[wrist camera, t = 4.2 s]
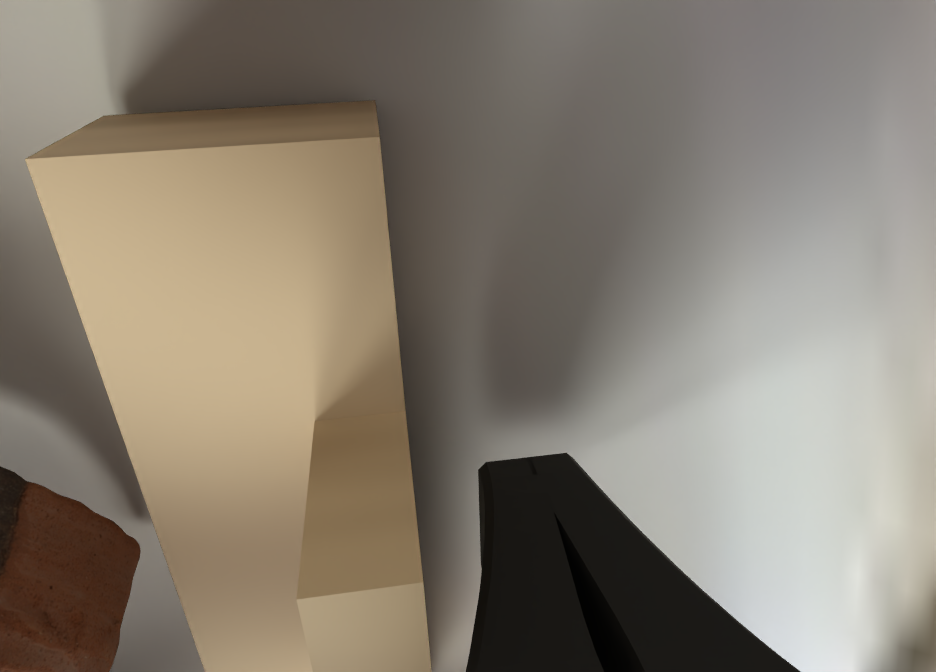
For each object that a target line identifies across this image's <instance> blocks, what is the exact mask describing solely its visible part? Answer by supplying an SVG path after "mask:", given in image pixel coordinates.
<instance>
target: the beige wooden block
mask: <svg viewBox="0 0 936 672" xmlns="http://www.w3.org/2000/svg"><path fill="white" fill-rule="evenodd" d="M25 161H26V163H27V166H28V169H29V172H30V175H31V178H32V180H33V183H34V186H35V189H36V192H37V195H38V198H39V200H40V203H41V206H42V209H43V212H44V215H45V218H46V220H47V223H48V226H49V229H50V232H51V235H52V237H53V240H54V243H55V246H56V249H57V252H58V255H59V257H60V260H61V263H62V266H63V269H64V272H65V274H66V277H67V280H68V283H69V286H70V289H71V292H72V294H73V297H74V300H75V303H76V306H77V309H78V311H79V314H80V317H81V320H82V323H83V326H84V329H85V331H86V334H87V337H88V340H89V343H90V346H91V348H92V351H93V354H94V357H95V360H96V363H97V366H98V368H99V371H100V374H101V377H102V380H103V383H104V386H105V388H106V391H107V394H108V397H109V400H110V403H111V405H112V408H113V411H114V414H115V417H116V420H117V423H118V425H119V428H120V431H121V434H122V437H123V440H124V442H125V445H126V448H127V451H128V454H129V457H130V460H131V462H132V465H133V468H134V471H135V474H136V477H137V479H138V482H139V485H140V488H141V491H142V494H143V497H144V499H145V502H146V505H147V508H148V511H149V514H150V516H151V519H152V522H153V525H154V528H155V531H156V534H157V536H158V539H159V542H160V545H161V548H162V551H163V554H164V556H165V559H166V562H167V565H168V568H169V571H170V573H171V576H172V579H173V582H174V585H175V588H176V591H177V593H178V596H179V599H180V602H181V605H182V608H183V610H184V613H185V616H186V619H187V622H188V625H189V628H190V630H191V633H192V636H193V639H194V642H195V645H196V647H197V650H198V653H199V656H200V659H201V662H202V665H203V667H204V670H205V672H432V671H431V660H430V649H429V638H428V627H427V616H426V605H425V595H424V584H423V574H422V564H421V555H420V545H419V536H418V526H417V517H416V507H415V497H414V488H413V478H412V469H411V459H410V450H409V440H408V430H407V421H406V411H405V401H404V390H403V379H402V369H401V358H400V347H399V337H398V326H397V316H396V305H395V294H394V284H393V273H392V262H391V252H390V241H389V230H388V220H387V209H386V198H385V188H384V177H383V166H382V156H381V145H380V135H379V127H378V119H377V111H376V102H375V100H371V101H354V102H336V103H319V104H301V105H283V106H266V107H248V108H231V109H213V110H196V111H178V112H161V113H143V114H125V115H108V116H103V117H101V118H99V119H97V120H95V121H93V122H92V123H90V124H88V125H86V126H84V127H83V128H81V129H79V130H77V131H75V132H73V133H72V134H70V135H68V136H66V137H64V138H63V139H61V140H59V141H57V142H55V143H53V144H52V145H50V146H48V147H46V148H44V149H43V150H41V151H39V152H37V153H35V154H33V155H32V156H30V157H28V158H26V159H25Z"/></svg>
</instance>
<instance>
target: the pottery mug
mask: <svg viewBox="0 0 936 672" xmlns="http://www.w3.org/2000/svg"><path fill="white" fill-rule="evenodd" d="M139 557H140V546H139V544H138V542H137V541H136V540H135V539H134V538H133V537H130V536H128V535H127V534H126V533H125V532H124V531H123V530H122V529H121V528H120V527H119V526H118V525H117V524H116V523H114V522H113V521H111V520H110V519H108V518H105V517H103V516H101V515H99V514H97V513H95V512H93V511H92V510H90V509H89V508H88V507H86V506H85V505H84V504H82V503H81V502H79V501H76V500H73V499H70V498H67V497H64V496H61V495H59V494H57V493H55V492H53V491H51V490H49V489H47V488H46V487H44V486H41V485H38V484H36V483H31V482H27V481H25V480H24V479H23V478H22V477H20V476H19V475H17V474H16V473H15V472H12V471H10V470H8V469H5V468H3V467H0V672H109V671H110V669H111V666H112V664H113V661H114V658H115V655H116V652H117V648H118V645H119V635H120V628H121V623H122V619H123V615H124V612H125V609H126V606H127V602H128V599H129V596H130V591H131V585H132V580H133V576H134V573H135V570H136V567H137V564H138V561H139Z"/></svg>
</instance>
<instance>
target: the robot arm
mask: <svg viewBox="0 0 936 672" xmlns="http://www.w3.org/2000/svg"><path fill="white" fill-rule="evenodd" d="M478 476H479V511H480V546H481V566H482V573H481V584H480V592H479V599H478V605H477V611H476V618H475V624H474V630H473V636H472V642H471V648H470V654H469V659H468V664H467V669H466V672H800V671H799V670H798V669H796V668H795V667H794V666H792V665H791V664H790V663H789V662H787V661H786V660H785V659H783V658H782V657H781V656H779V655H778V654H777V653H776V652H774V651H773V650H772V649H771V648H770V647H768V646H767V645H766V644H765V643H763V642H762V641H761V640H760V639H758V638H757V637H756V636H755V635H754V634H752V633H751V632H750V631H749V630H748V629H747V628H745V627H744V626H743V625H742V624H741V623H739V622H738V621H737V620H736V619H735V618H734V617H732V616H731V615H730V614H729V613H728V612H727V611H726V610H724V609H723V608H722V607H721V606H720V605H719V604H718V603H717V602H715V601H714V600H713V599H712V598H711V597H710V596H709V595H707V594H706V593H705V592H704V591H703V590H702V589H701V588H700V587H699V586H697V585H696V584H695V583H694V582H693V581H692V580H691V579H690V578H689V577H688V576H687V575H686V574H684V573H683V572H682V571H681V570H680V569H679V568H678V567H677V566H676V565H675V564H674V563H673V562H672V561H671V560H670V559H669V558H668V557H667V556H666V555H665V554H664V553H663V552H662V551H661V550H660V549H659V548H658V547H656V546H655V545H654V544H653V543H652V542H651V541H650V540H649V539H648V538H647V537H646V536H645V535H644V534H643V533H642V532H641V531H640V530H639V529H638V528H637V527H636V526H635V525H634V524H633V523H632V522H631V521H630V520H629V519H628V517H627V516H626V515H625V514H624V513H623V512H622V511H621V510H620V509H619V508H618V507H617V506H616V505H615V504H614V503H613V502H612V501H611V500H610V498H609V497H608V496H607V495H606V494H605V493H604V492H603V491H602V490H601V489H600V488H599V487H598V485H597V484H596V483H595V482H594V481H593V480H592V479H591V478H590V477H589V475H588V474H587V473H586V472H585V471H584V470H583V469H582V468H581V467H580V465H579V464H578V463H577V462H576V461H575V460H574V459H573V458H572V457H571V456H570V455H568V454H567V453H561V454H553V455H544V456H536V457H527V458H519V459H510V460H502V461H493V462H486V463H485V464H484V465H483V466H482V467H481V468H480V469H479V470H478Z"/></svg>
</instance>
